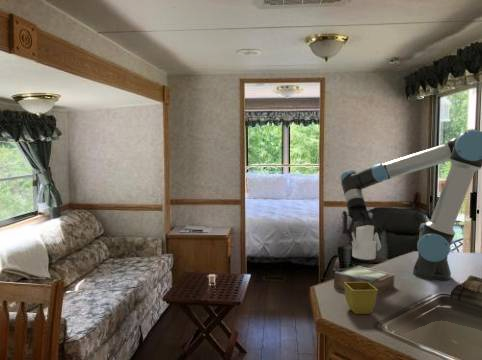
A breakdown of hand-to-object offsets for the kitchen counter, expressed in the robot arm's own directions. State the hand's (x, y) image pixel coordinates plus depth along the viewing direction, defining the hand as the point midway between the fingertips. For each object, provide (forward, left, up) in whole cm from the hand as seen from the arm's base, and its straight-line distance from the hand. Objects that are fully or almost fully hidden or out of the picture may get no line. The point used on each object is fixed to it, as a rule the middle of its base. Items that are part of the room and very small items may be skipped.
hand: (367, 248), depth 164 cm
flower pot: (-10, +22, -17) cm, 29 cm away
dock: (+2, -2, -16) cm, 17 cm away
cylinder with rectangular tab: (+3, -2, -4) cm, 5 cm away
